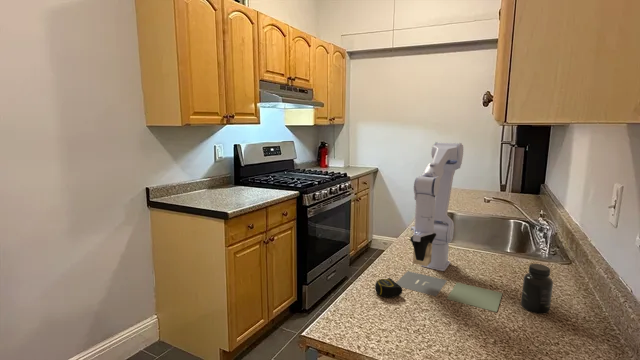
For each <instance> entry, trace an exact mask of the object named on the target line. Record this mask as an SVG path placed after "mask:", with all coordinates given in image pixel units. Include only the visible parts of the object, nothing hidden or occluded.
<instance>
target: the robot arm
mask: <svg viewBox="0 0 640 360" xmlns="http://www.w3.org/2000/svg"><path fill="white" fill-rule="evenodd" d="M430 154H431V158H432V160H431V162H429V163H428V164H427V165H426V166H425V168H424V170H423V172H422V174H421V175H419V176H418V177H416V178H415V179H414V182H413V194H414V197H413V198H414V201H415V210H414V211H415V212H414V226H411V227H410V231H413V234H412V236H410V238H409V239H410V242H411V244H412V248H413V252H414V251H415V256H416V260H420V261H423V260H424V257H425V253H426V248H427V246H428V244H429V243H432V255H431V262H430V264H429V265H428V266H423V265H420V267H424V268H428V269H432V270H437V271H442V272H445V271H446V270H447V268H448V267H449V265H450V264H451V261H449V250H450V246H449V245H450V243H451V242H452V241H453V238H454V233H455V231H454V230H455V229H454V227H455V223H454V221H453V219H452V218H451V217H450V216H449V215H448V213H449V212H448V211H449V207H450V206H449V205H450V201H451V200H450V198H451V194H452V187H453V180H454V176H455V173H456V171H457V170H459V169H461V167H462V164H463V163H462V162H463V159H464V158H463V156H464V145H463V144H462V142H459V143H458V142H457V143H456V142H438V141H435V142H434V143H433V144H432V146H431V153H430Z"/></svg>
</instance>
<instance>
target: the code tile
mask: <svg viewBox="0 0 640 360" xmlns="http://www.w3.org/2000/svg"><path fill="white" fill-rule="evenodd" d="M395 283H397V284H398V285H399V286H400V287H401V288H402V289H406V290H412V291H415V292H418V293H423V294H425V295H430V296H433V297H437V296H438V295H439V294H440V292H441V290H442V288H443V287H444V286H445V284H446V283H447V279H443V278H440V277H435V276H430V275H426V274H422V273H418V272H414V271H410V270H407V271H406V272H405V273H404V274H403V275H402V276H401V277H400V278H399V279H398V280H397V281H396V282H395Z"/></svg>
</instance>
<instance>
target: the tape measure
mask: <svg viewBox="0 0 640 360" xmlns="http://www.w3.org/2000/svg"><path fill="white" fill-rule="evenodd" d="M374 288H375V289H374V290H375V292H376V294H377V295H379V296H381V297H384V298H394V297H397V296H400V295H402V293H403V288H402V287H400V286H399V285H398V284H397V283H396V282H395V281H394V280H393V279H392V278H390V277H389V278H380V279H378V280H377V281H376V282H375V285H374Z"/></svg>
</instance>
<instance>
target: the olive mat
mask: <svg viewBox="0 0 640 360" xmlns="http://www.w3.org/2000/svg"><path fill="white" fill-rule="evenodd" d="M502 297H503V292H499V291H495V290H491V289H487V288H484V287H483V288H482V287H477V286H474V285H470V284H465V283H462V282H458V281H456V283H455V285H454V286H453V288H452V290H451V291H450V293H449V294H448V296H447V298H446V300H449V301H451V302H452V301H453V302H457V303H460V304H465V305H468V306H471V307H476V308H479V309H483V310H486V311H488V312H489V311H490V312H493V313H498V309H499V307H500V303H501V299H502Z"/></svg>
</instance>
